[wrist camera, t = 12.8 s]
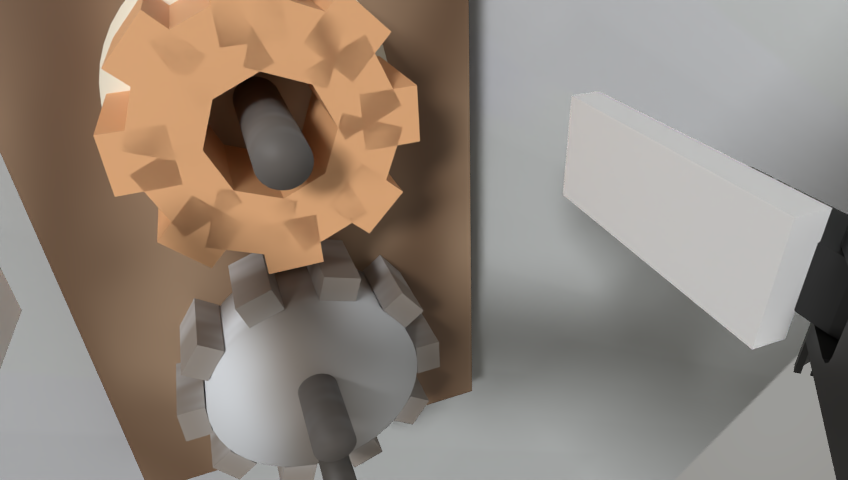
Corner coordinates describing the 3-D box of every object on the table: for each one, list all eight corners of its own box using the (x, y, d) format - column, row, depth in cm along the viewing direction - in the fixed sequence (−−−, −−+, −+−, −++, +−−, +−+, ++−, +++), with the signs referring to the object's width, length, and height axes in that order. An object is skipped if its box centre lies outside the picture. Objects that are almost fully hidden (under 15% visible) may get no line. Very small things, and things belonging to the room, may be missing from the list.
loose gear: (369, -57, 20) (410, -46, 16) (390, 191, 24) (425, 238, 21) (66, -31, 17) (41, -13, 14) (153, 240, 22) (151, 301, 18)
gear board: (445, -83, 22) (562, -73, 15) (457, 366, 33) (527, 481, 27) (-61, -46, 18) (-195, -9, 11) (150, 457, 29) (145, 621, 22)
